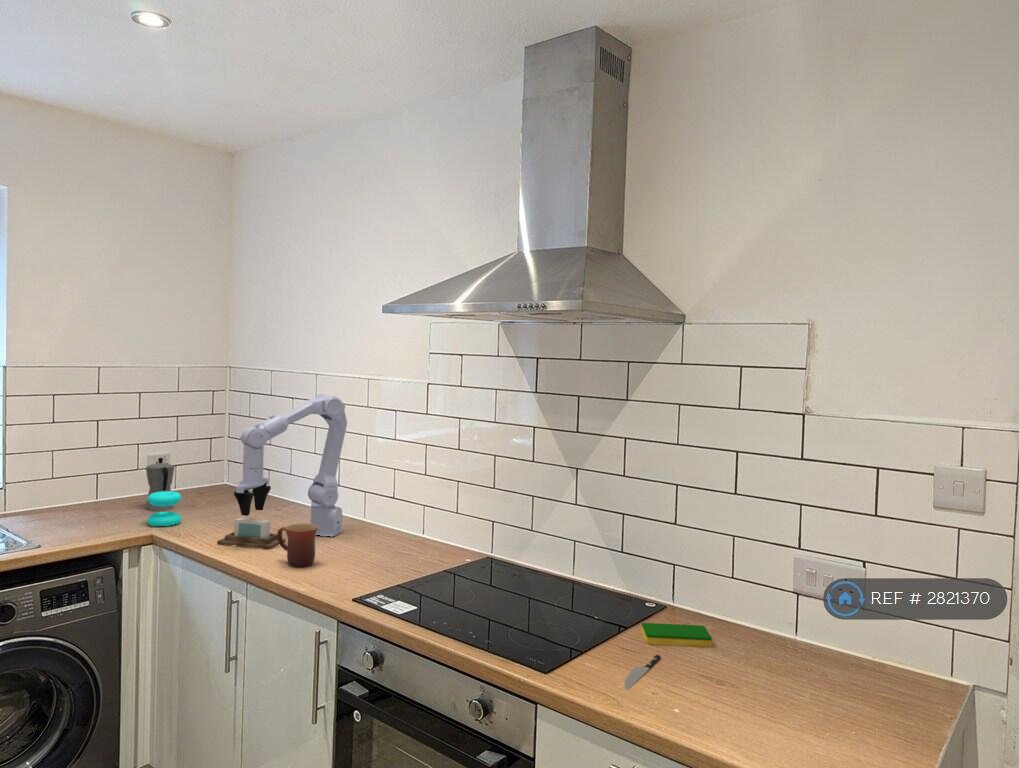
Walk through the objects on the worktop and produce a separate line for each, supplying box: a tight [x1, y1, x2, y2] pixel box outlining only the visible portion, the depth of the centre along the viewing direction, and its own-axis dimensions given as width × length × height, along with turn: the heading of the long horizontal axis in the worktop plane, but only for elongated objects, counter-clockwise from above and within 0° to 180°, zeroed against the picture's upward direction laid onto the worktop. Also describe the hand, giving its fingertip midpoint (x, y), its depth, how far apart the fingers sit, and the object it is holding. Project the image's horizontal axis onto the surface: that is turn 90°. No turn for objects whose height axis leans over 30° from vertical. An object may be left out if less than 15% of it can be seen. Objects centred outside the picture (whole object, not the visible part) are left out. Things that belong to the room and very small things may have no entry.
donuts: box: [147, 490, 182, 527], centre depth 242 cm, size 10×10×10 cm
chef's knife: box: [624, 654, 661, 691], centre depth 144 cm, size 19×1×3 cm
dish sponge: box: [640, 622, 713, 648], centre depth 162 cm, size 7×14×2 cm, turn 89°
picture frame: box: [233, 517, 271, 539], centre depth 223 cm, size 10×3×6 cm, turn 78°
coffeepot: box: [145, 457, 176, 512], centre depth 262 cm, size 15×9×18 cm, turn 37°
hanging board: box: [216, 531, 286, 550], centre depth 223 cm, size 17×9×2 cm, turn 78°
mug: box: [276, 523, 318, 568], centre depth 205 cm, size 12×9×10 cm
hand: (252, 512), depth 223 cm, fingers open, 7 cm apart
